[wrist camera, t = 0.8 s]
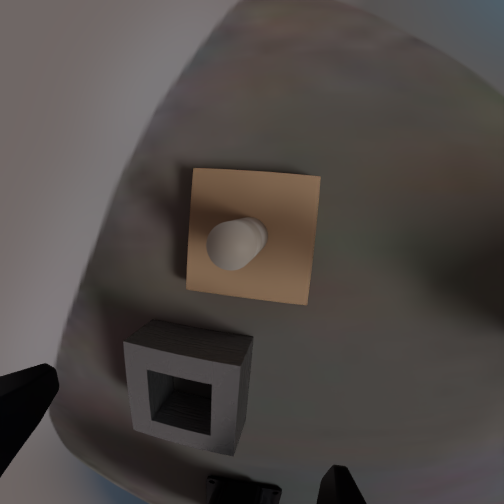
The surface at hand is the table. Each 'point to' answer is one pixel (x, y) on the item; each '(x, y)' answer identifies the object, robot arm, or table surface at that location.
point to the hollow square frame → (192, 368)
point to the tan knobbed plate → (252, 234)
